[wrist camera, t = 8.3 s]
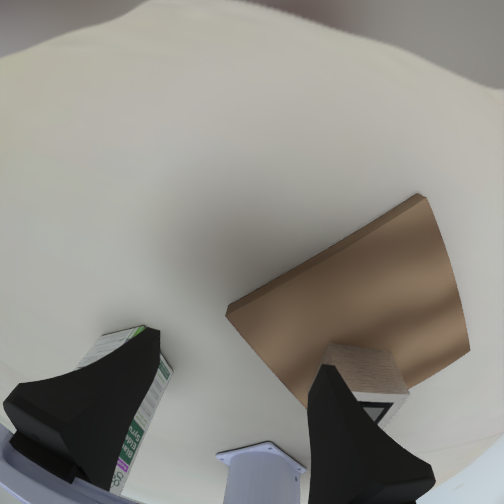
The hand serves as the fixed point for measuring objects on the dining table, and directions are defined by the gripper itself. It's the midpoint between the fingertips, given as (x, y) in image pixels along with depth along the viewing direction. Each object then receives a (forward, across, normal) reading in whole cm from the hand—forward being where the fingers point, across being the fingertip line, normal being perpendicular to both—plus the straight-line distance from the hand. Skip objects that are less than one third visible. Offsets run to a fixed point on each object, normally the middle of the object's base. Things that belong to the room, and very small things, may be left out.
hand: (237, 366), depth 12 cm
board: (+9, -10, +3) cm, 14 cm away
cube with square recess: (+8, -9, +6) cm, 14 cm away
